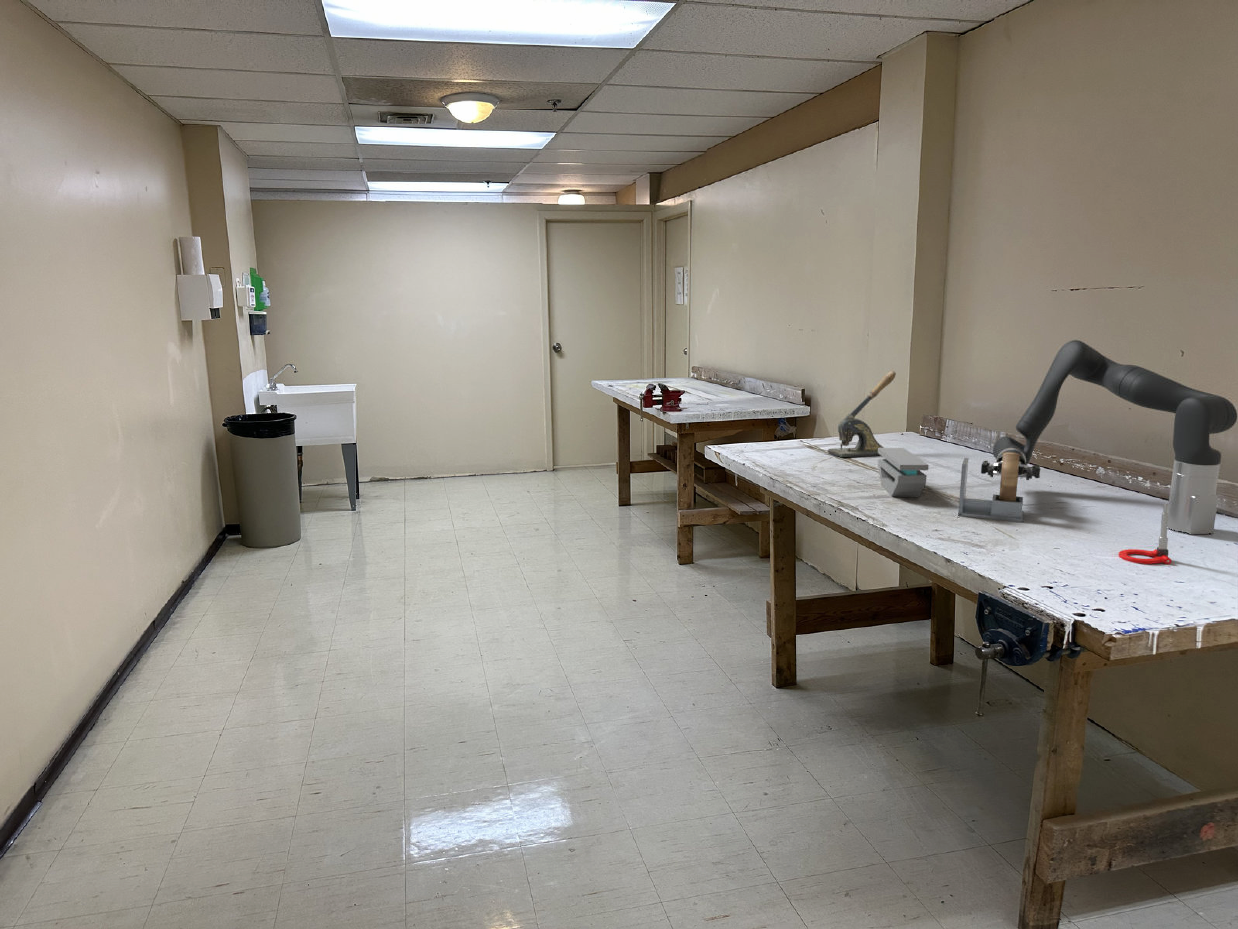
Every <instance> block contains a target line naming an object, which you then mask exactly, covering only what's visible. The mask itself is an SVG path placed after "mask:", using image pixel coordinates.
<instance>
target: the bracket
mask: <svg viewBox="0 0 1238 929" xmlns="http://www.w3.org/2000/svg"><path fill="white" fill-rule="evenodd" d="M969 460H970V458H968V457H964V458H963V461H962V463H961V464H962V465H961V474H960V486H959V487H960V489H959V500H958V513H957V516H958V517H966V518H967V517H969V518H975V519H976V518H977V519H987V520H996V521H997V520H998V521H1007V522H1017V523H1023V522H1024V510H1023V504H1024V496H1017V495H1016V502H1011V501H1000V500H999V494H995V493H994V494H992V495H993V496H992V500H990V499H980V498H969V497H966V493H967V482H968V469H969Z"/></svg>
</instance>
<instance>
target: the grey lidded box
mask: <svg viewBox="0 0 1238 929" xmlns="http://www.w3.org/2000/svg"><path fill="white" fill-rule="evenodd" d="M878 453H879V454H880V455H879V456H881V457H883V458H877V460H878V461H877V468H878V474H879V479H880V481H879V482H880V486H882V487H883V488H884V489H885V490H886V491H887V492H888V493H889V494H890V495H891V496H890V497H907V496H919V497H920V495H921V493H922V491H924V488H925V486H926V483H927V476H928V475H927V474H926V473H924V472H923V471H929V467H930V466H929V464H928V463H927V462H925V461H924V460H922V459H920V458H919V457H918V456H916V455H915V454H913V453H912V452H911V451H909V450H907V449H906V448H905V447H884V448H878ZM882 487H881V488H882ZM883 488H882V489H883ZM884 489H883V490H884ZM885 490H884V491H885ZM886 491H885V492H886ZM887 492H886V493H887ZM888 493H887V494H888ZM889 494H888V495H889Z"/></svg>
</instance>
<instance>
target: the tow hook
mask: <svg viewBox="0 0 1238 929" xmlns="http://www.w3.org/2000/svg"><path fill="white" fill-rule="evenodd" d="M1168 504H1169V503H1167V502H1166V503H1165V502H1164V503H1163V508H1162V509H1163V511H1162V512H1161V520H1160V521H1161V524H1160V536H1159V537H1158V547H1157V546H1156V549H1153V550H1146V549H1137V548H1136V549H1134V548H1132V549H1129V548H1127V549H1123V550H1120V551H1119V552H1118V557H1119V558H1120V559H1121V558H1122V559H1121V560H1124V561H1127V562H1129V561H1130V562H1129V563H1136V564H1142V565H1143V564H1145V565H1153V564H1155V565H1156V564H1160V563H1163V564H1166V565H1171V563H1172V560H1173V559H1171V558H1170V557H1169V549H1168V543H1169V542H1168V541H1169V537H1168V528H1167V527H1168V513H1167V512H1168ZM1131 555H1141V556H1148V557H1151V558H1139V557H1136V556H1134V557H1133V556H1131Z"/></svg>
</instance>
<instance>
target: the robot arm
mask: <svg viewBox="0 0 1238 929" xmlns="http://www.w3.org/2000/svg"><path fill="white" fill-rule="evenodd" d="M1069 375H1070V376H1072V377H1073V378H1075V379H1077V380H1080V381H1085V382H1086V383H1091V384H1093V385H1097V386H1101V387H1103V388H1105V389H1106V390H1108V392H1110V393H1112V394H1113V395H1115V396H1116V397H1119V398H1121V399H1122V400H1124V401H1126V402H1129V403H1131V404H1133V405H1136V406H1139V407H1141V408H1142V407H1143V408H1146V409H1151V410H1154V411H1155V410H1156V411H1159V412H1167V413H1172V414H1174V420H1173V421H1174V422H1173V435H1172V436H1173V438H1172V447H1173V451H1174V461H1173V468H1172V474H1171V476H1172V477H1171V483H1170V491H1169V498H1168V499H1169V500H1168V503H1167V504H1168V512H1167V513H1168V528H1167V529H1169V528H1170V529H1169V530H1171V529H1172V531H1174V530H1175V532H1178V531H1182V532H1181V533H1183V532H1187V533H1189V534H1188V535H1207V534H1208V535H1210V534H1209V533H1211V534H1212V533H1213V534H1214V530H1215V522H1216V516H1217V511H1218V503H1219V496H1218V495H1216V494H1217V489H1218V488H1217V486H1218V481H1219V474H1220V467H1221V460H1222V453H1221V451H1219V450H1217V449H1215V448H1213V447H1211V445H1210V436H1211V435H1214V434H1215V435H1216V434H1220V433H1223V432H1226V431H1228V430H1230V429H1232V428H1233V426H1235V424H1236V423H1237V420H1238V413H1237V409H1236V407H1235V406H1234V404H1233V403H1232V402H1231V401H1230V400H1229V399H1227V398H1226V397H1225V396H1224V397H1223V396H1220V395H1217V394H1212V393H1209V392H1206V391H1201V390H1198V389H1194V388H1192V387H1188V386H1186V385H1184V384H1182V383H1180V382H1177V381H1175V380H1173V379H1171V378H1168V377H1165V376H1164V375H1162V374H1159V373H1158V372H1154V371H1151V370H1149V369H1147V368H1144V367H1143V366H1139V365H1134V364H1122V363H1118V362H1116V361H1114V360H1112V359H1110V358H1108V357H1107V356H1105V355H1103V354H1102V353H1100V351H1098V350H1096V348H1094V347H1091V346H1090V345H1088V344H1087V343H1085V342H1084V341H1081V340H1078V339H1076V340H1075V339H1074V340H1070V341H1068V342H1066V343H1064V344H1063V345H1062V346H1061V348H1060V349H1059V350H1058V351H1057V353H1056V355H1055V357H1054V358H1053V360H1052V363H1051V365H1050V366H1049V369H1048V372H1046V374H1045V376H1044V379H1043V381H1042V383H1041V384H1040V387H1039V389H1038V391H1037V394H1036V395H1035V397H1034V398H1033V399H1032V402H1031V403H1030V405H1029V406H1028V407H1027V409H1026V410H1025V411H1024V413H1023V415H1022V416H1021V417H1020V419H1019V420H1018V422H1017V423H1016V425H1015V430H1016V431H1017V432H1018V433H1019V434H1020V435H1021V436H1022V437H1023V438H1025V444H1023V443H1022V442H1020V441H1018V440H1017V439H1016V440H1015V439H1014V438H1012V437H1011V436H1007V435H1006V436H1002V437H1000V438H999V439H997V440H996V441H995V443H994V445H993V447H992V455H993V457H994V458H995V459H996V461H995V462H994V463H991V462H990V461H989V460H983V461H982V463H981V469H980V474H982V475H985V474H986V475H987V476H989V477H990V478H994V476H1001V470H1002V458H1003V453H1018V454H1020V458H1019V469H1018V478H1025V480H1026V481H1030V480H1031V479H1033V477H1034V478H1035V479H1040V477H1041V476H1040V474H1041V467H1040V465H1039V464H1033V465H1032V466H1028V464H1029V463H1030V461H1031V458H1032V456H1033V452H1034V449H1035V446H1036V444H1037V442H1038V440H1039V438H1040V436H1041V435H1042V433H1043V432H1044V431H1045V429H1046V427H1047V426H1048V425H1049V424H1050V422H1051V420H1053V417H1054V415H1055V411H1056V409H1057V404H1058V400H1059V396H1060V395H1059V394H1060V391H1061V389H1062V386H1063V384H1064V382H1065V381H1066V379H1067V378H1068V376H1069ZM1187 533H1186V534H1187Z"/></svg>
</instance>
